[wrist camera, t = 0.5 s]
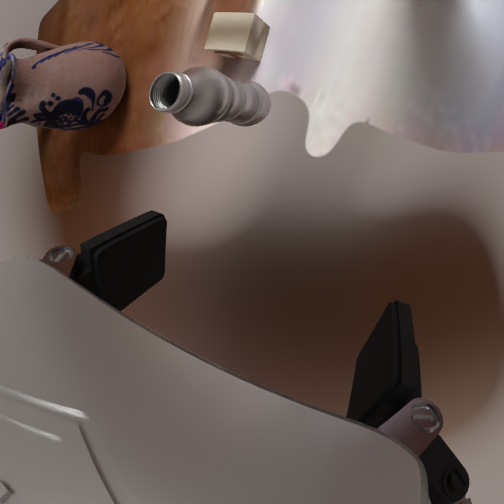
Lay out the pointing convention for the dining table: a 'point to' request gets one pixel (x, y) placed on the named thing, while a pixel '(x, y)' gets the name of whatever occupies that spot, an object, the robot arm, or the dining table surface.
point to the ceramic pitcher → (60, 84)
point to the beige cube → (237, 35)
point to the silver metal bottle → (209, 97)
